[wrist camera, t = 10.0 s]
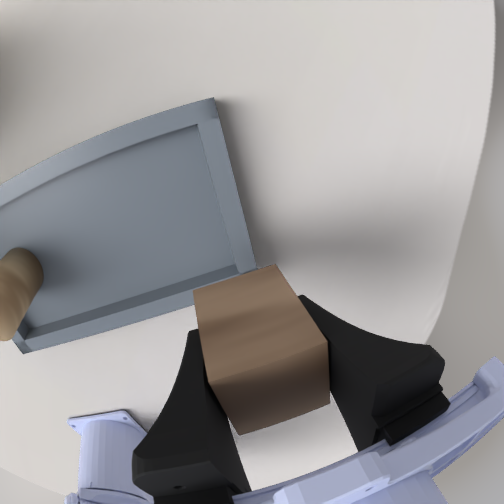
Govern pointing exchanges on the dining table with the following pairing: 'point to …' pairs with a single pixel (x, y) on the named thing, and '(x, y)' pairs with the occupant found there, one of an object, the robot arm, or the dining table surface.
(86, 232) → the parts tray
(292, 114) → the dining table surface
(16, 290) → the oak peg
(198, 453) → the robot arm
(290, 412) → the walnut block
